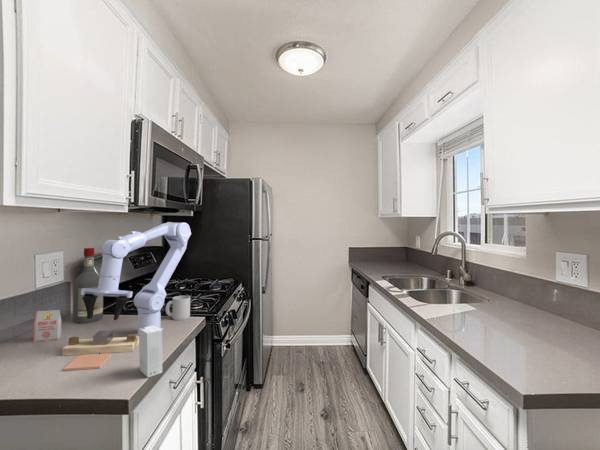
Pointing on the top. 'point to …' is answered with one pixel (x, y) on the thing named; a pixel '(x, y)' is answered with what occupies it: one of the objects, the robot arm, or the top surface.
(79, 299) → the liquor
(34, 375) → the top surface
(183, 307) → the cup
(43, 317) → the white red printed carton
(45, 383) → the top surface
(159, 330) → the skincare box
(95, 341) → the gray rectangular block
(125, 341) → the hand plane
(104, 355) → the terracotta tile
